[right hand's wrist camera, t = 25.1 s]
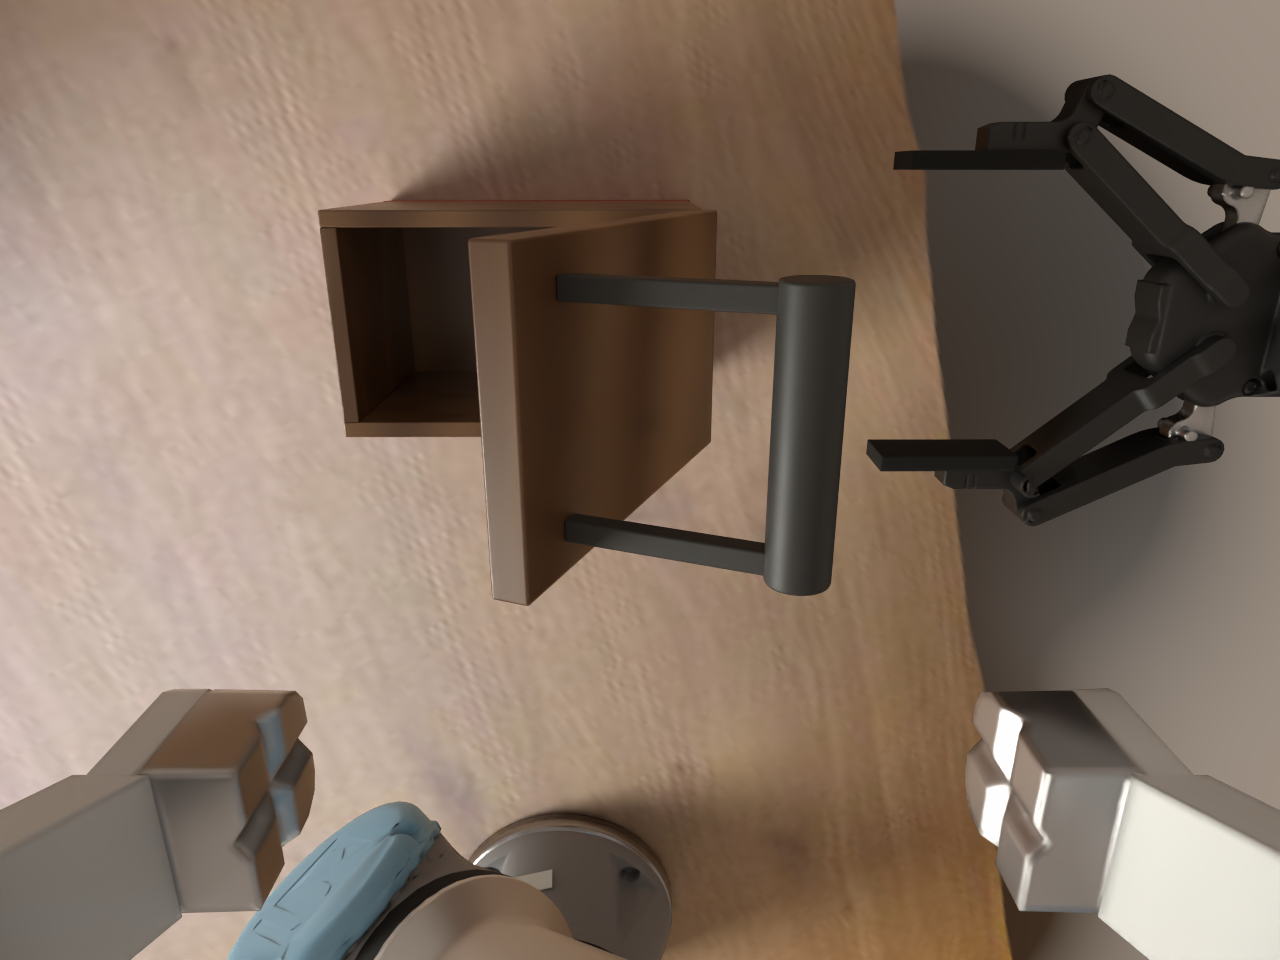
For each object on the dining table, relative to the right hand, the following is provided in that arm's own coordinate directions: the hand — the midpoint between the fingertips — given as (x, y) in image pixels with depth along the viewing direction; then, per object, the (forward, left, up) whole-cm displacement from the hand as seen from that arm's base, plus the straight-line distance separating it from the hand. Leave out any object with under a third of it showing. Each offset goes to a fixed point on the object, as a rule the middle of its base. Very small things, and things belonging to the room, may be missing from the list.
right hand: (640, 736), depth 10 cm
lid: (-1, -1, -20) cm, 20 cm away
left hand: (+8, +9, -31) cm, 33 cm away
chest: (-3, -4, -39) cm, 40 cm away
